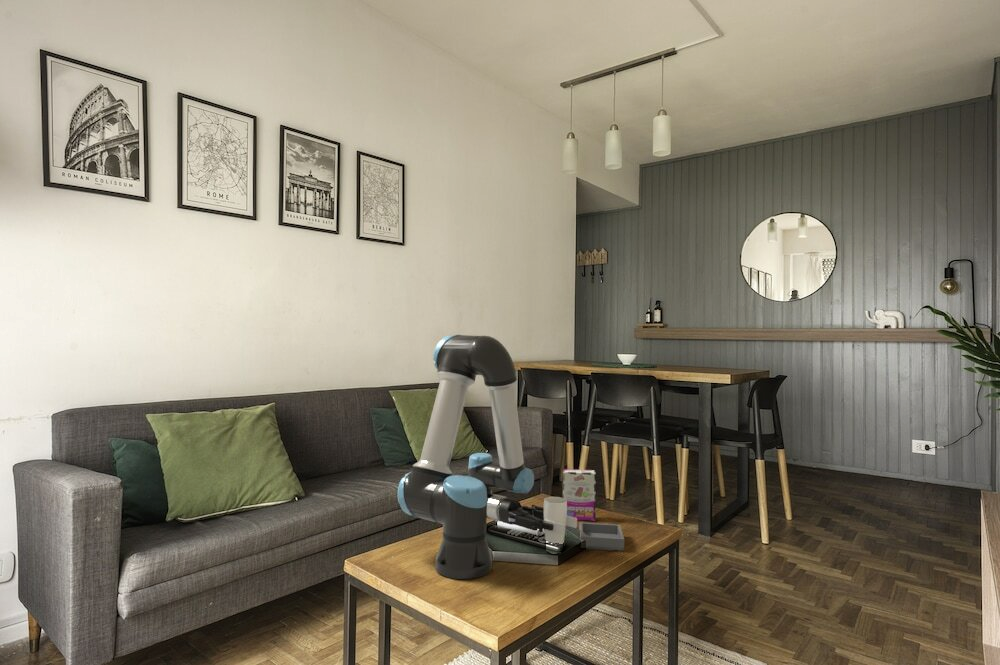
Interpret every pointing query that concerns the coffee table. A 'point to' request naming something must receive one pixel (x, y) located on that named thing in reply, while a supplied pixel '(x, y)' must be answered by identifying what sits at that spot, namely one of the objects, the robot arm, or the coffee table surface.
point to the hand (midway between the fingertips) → (570, 526)
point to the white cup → (555, 517)
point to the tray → (602, 536)
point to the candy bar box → (580, 493)
